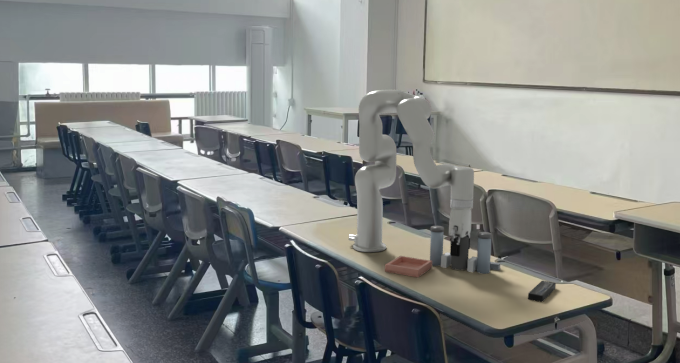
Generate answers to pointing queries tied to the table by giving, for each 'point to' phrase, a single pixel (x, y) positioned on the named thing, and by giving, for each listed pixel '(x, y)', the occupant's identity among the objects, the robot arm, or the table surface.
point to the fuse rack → (474, 263)
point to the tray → (408, 266)
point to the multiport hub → (541, 291)
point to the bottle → (461, 255)
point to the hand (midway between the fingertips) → (460, 252)
